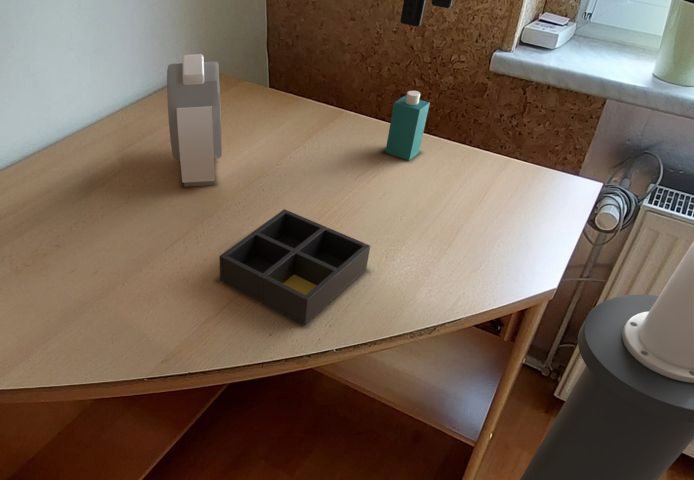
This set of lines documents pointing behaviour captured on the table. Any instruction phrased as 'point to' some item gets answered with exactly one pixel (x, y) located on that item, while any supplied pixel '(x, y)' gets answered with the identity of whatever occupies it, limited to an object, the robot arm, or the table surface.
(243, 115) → the table surface
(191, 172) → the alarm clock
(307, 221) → the tray
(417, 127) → the detergent bottle
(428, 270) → the table surface
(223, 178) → the table surface
